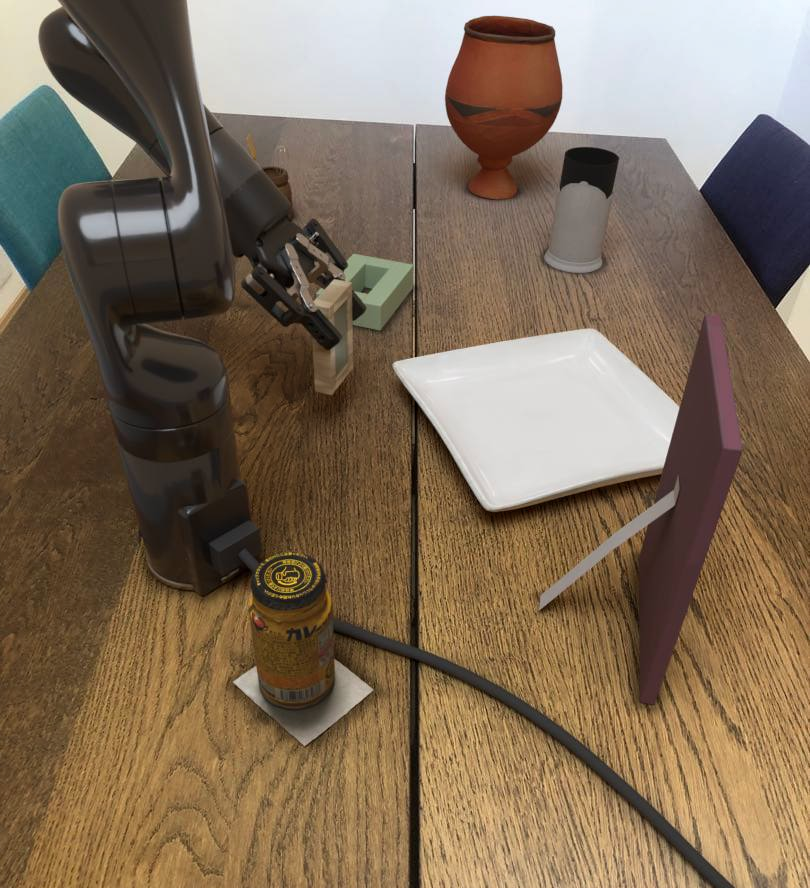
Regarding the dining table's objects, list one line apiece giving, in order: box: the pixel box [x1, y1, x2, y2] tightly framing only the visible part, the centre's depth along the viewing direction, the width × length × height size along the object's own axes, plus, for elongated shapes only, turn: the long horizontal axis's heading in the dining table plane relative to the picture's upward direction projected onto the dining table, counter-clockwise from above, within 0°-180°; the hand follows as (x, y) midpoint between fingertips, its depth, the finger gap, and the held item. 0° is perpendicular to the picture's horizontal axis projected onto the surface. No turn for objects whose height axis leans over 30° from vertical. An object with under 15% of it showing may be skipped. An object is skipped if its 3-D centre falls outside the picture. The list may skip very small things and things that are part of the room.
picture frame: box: [538, 314, 744, 706], centre depth 63 cm, size 17×10×25 cm, turn 168°
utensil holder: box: [245, 134, 294, 219], centre depth 128 cm, size 6×6×12 cm
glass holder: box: [543, 146, 620, 274], centre depth 120 cm, size 9×14×15 cm, turn 161°
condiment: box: [232, 551, 374, 747], centre depth 61 cm, size 7×8×12 cm
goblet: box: [444, 15, 564, 200], centre depth 134 cm, size 19×19×25 cm
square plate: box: [391, 327, 680, 513], centre depth 90 cm, size 27×27×4 cm
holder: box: [315, 253, 415, 331], centre depth 110 cm, size 9×13×4 cm
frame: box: [311, 279, 354, 396], centre depth 85 cm, size 2×6×10 cm, turn 161°
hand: (347, 329), depth 84 cm, fingers closed on frame, 6 cm apart
